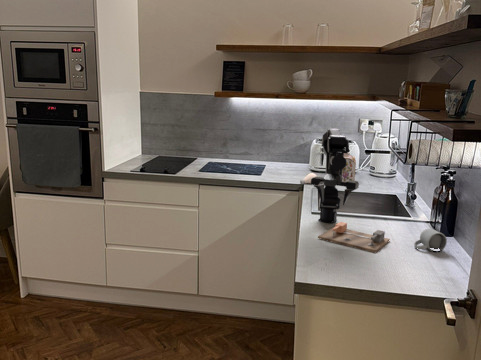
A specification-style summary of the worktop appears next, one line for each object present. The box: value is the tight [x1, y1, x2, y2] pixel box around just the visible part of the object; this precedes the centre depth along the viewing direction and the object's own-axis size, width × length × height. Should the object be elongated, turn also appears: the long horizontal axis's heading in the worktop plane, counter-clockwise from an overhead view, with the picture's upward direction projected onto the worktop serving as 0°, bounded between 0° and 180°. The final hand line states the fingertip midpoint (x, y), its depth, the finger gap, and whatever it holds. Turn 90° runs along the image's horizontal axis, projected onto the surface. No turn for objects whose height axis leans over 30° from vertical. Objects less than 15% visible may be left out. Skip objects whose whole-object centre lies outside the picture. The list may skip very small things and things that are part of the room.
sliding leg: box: [332, 221, 348, 235], centre depth 198 cm, size 3×10×3 cm, turn 145°
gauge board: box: [317, 225, 391, 253], centre depth 194 cm, size 24×16×4 cm, turn 55°
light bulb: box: [299, 172, 318, 185], centre depth 287 cm, size 7×7×11 cm
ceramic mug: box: [413, 228, 448, 252], centre depth 187 cm, size 11×8×8 cm
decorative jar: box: [342, 152, 357, 182], centre depth 294 cm, size 12×12×18 cm
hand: (333, 203), depth 199 cm, fingers open, 9 cm apart
